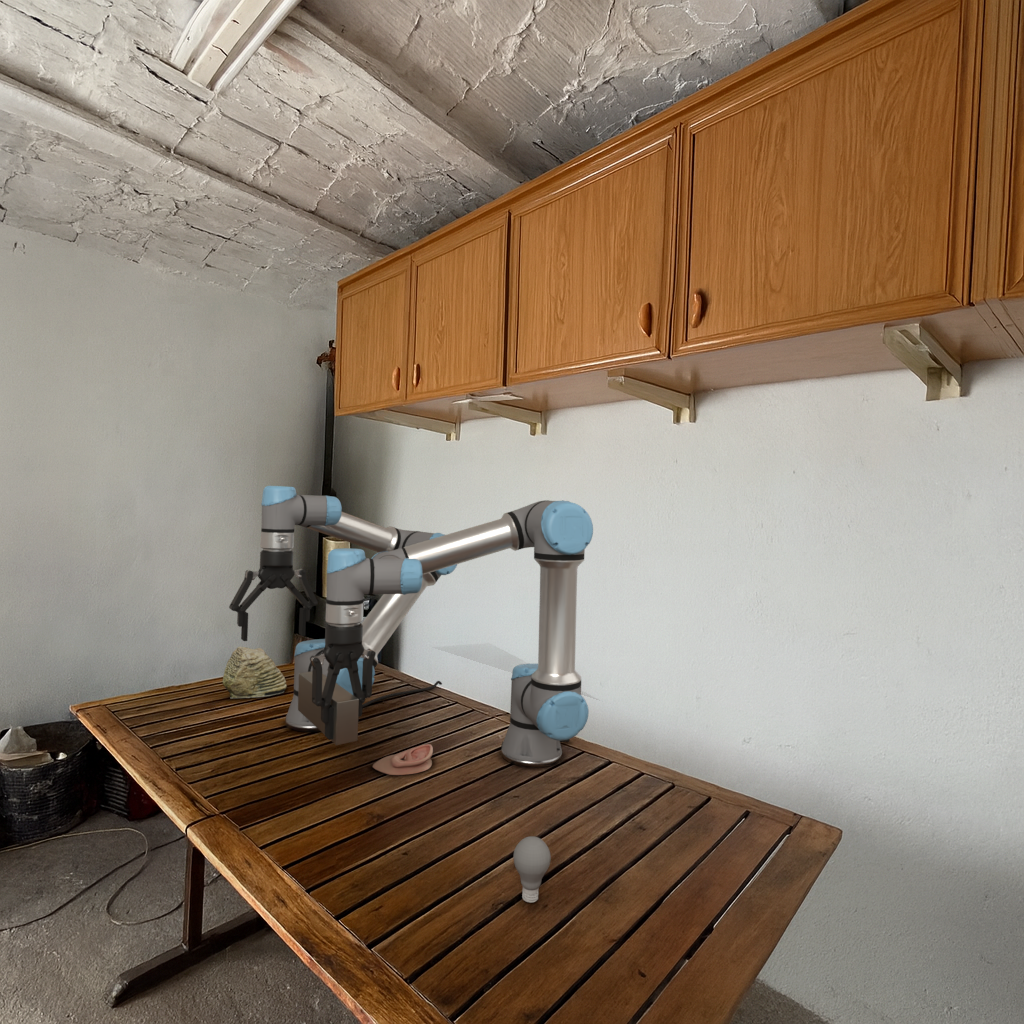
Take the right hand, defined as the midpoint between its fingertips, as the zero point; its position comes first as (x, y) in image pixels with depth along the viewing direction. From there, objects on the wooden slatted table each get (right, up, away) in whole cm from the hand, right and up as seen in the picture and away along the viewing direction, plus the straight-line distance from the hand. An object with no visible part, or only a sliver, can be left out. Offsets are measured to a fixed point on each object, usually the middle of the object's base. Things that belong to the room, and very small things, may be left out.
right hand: (341, 734), depth 132 cm
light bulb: (+38, -16, -30) cm, 51 cm away
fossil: (-45, -11, +66) cm, 81 cm away
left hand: (-22, +16, +21) cm, 35 cm away
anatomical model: (+10, -14, +19) cm, 26 cm away
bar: (-5, 0, +7) cm, 9 cm away
